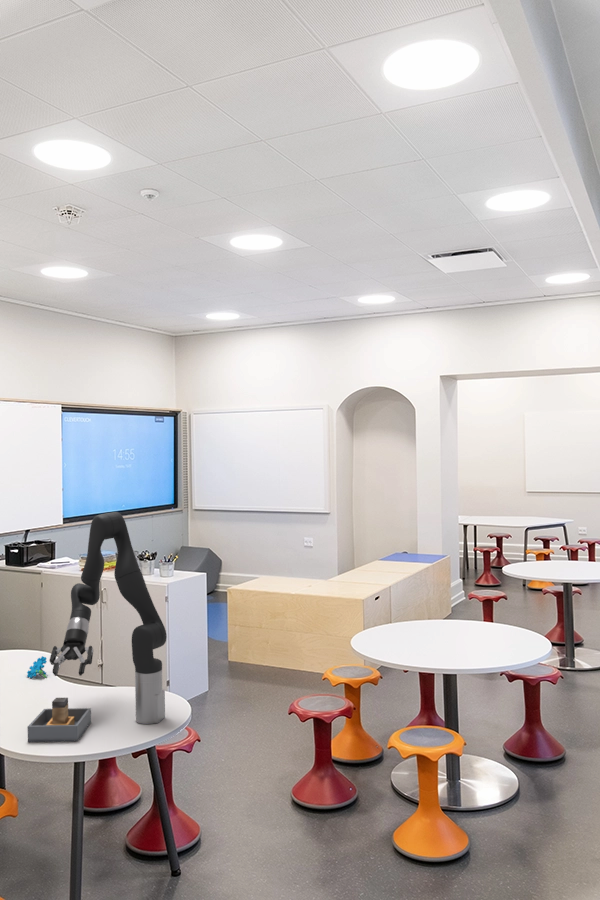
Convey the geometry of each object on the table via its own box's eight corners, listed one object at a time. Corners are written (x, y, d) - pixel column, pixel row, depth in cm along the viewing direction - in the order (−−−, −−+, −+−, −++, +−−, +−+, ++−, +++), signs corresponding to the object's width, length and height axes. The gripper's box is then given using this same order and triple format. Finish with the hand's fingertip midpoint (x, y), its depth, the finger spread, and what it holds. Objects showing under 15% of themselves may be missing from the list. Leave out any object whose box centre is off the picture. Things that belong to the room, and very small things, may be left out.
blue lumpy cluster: (23, 670, 309) (41, 651, 312) (34, 678, 312) (51, 659, 314) (28, 681, 300) (46, 661, 302) (39, 689, 302) (57, 670, 305)
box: (91, 722, 254) (90, 708, 254) (77, 741, 238) (77, 725, 238) (44, 723, 254) (44, 708, 254) (27, 742, 238) (27, 726, 238)
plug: (68, 727, 248) (68, 697, 248) (64, 731, 244) (64, 701, 244) (56, 727, 248) (56, 697, 248) (52, 732, 244) (52, 701, 244)
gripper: (54, 627, 263) (44, 669, 252) (94, 627, 263) (86, 669, 252) (59, 638, 269) (49, 680, 257) (98, 638, 269) (90, 679, 257)
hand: (67, 674), depth 255 cm, fingers open, 8 cm apart
